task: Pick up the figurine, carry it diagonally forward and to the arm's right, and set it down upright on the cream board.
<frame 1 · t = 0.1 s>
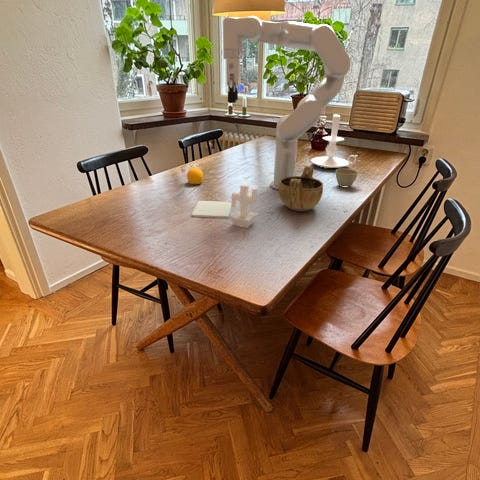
hand: (232, 101, 138), 37 cm above the table, tool pointing down, fingers open, 9 cm apart
candlestick: (332, 167, 182), on the table
flower pot: (344, 186, 155), on the table
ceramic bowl: (298, 208, 131), on the table
apple: (195, 183, 157), on the table
cream board: (212, 209, 129), on the table
figurine: (243, 225, 117), on the table
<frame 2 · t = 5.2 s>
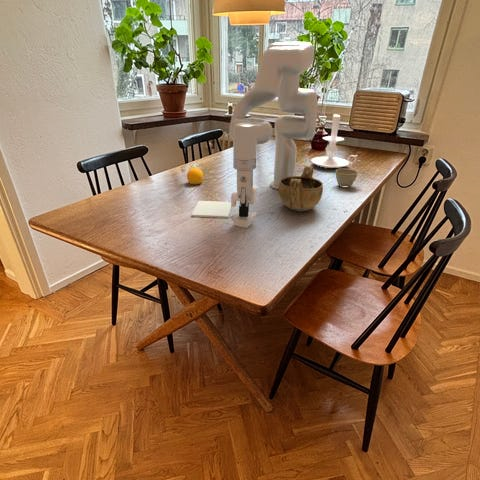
hand: (244, 213, 115), 4 cm above the table, tool pointing down, fingers closed on figurine, 3 cm apart
figurine: (243, 224, 117), on the table, touching gripper
everything else where it was.
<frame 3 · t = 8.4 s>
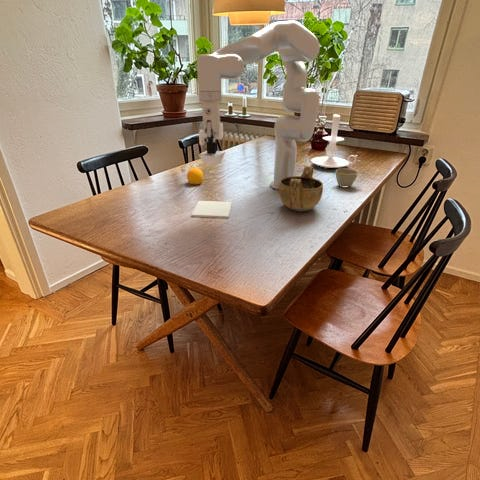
hand: (212, 151, 117), 23 cm above the table, tool pointing down, fingers closed on figurine, 3 cm apart
figurine: (212, 163, 119), point 19 cm above the table, touching gripper
everything else where it was.
when the fingers open (7 cm above the table, at t = 11.9 s): figurine drops 2 cm, resting on cream board.
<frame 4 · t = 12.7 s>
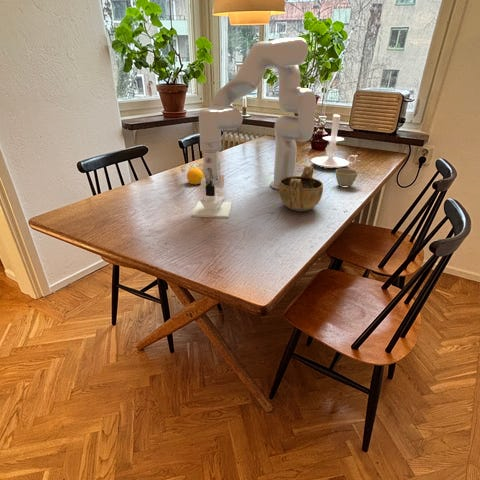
hand: (212, 191, 125), 8 cm above the table, tool pointing down, fingers open, 9 cm apart
figurine: (213, 208, 128), point 1 cm above the table, touching cream board
everything else where it was.
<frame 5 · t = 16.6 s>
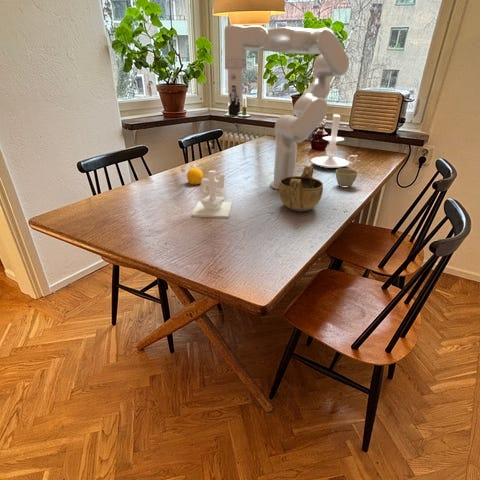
hand: (234, 114, 129), 33 cm above the table, tool pointing down, fingers open, 9 cm apart
nothing on the table moved.
at the end: figurine inside the target area on the cream board (0.2 cm from its centre), point 0.6 cm above the cream board's base; figurine tilted 0°; the gripper is holding nothing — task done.
